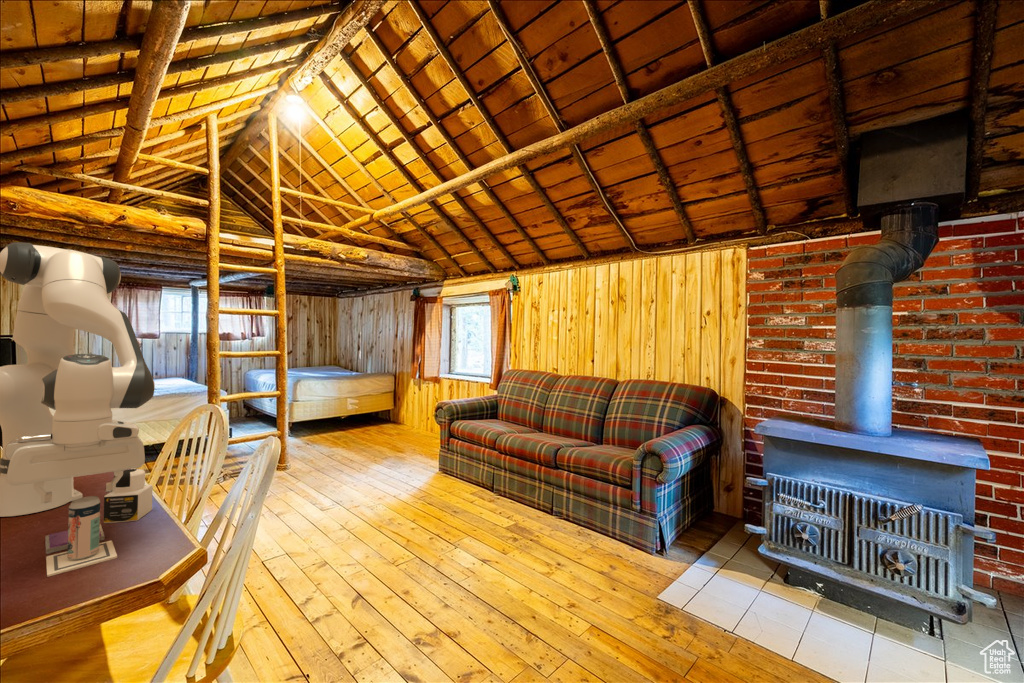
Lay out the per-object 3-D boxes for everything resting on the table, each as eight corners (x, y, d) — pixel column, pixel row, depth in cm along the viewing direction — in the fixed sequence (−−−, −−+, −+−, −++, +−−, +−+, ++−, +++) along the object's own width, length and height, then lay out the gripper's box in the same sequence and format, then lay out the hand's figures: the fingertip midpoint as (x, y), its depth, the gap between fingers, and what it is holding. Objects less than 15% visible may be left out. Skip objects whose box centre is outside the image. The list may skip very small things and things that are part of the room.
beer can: (69, 554, 89) (70, 498, 89) (100, 548, 92) (101, 493, 92) (65, 564, 85) (66, 505, 85) (98, 556, 88) (99, 500, 88)
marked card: (46, 558, 88) (46, 556, 88) (111, 542, 96) (111, 539, 96) (47, 576, 81) (47, 574, 81) (117, 557, 89) (117, 555, 89)
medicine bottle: (102, 524, 104) (103, 476, 104) (120, 512, 111) (121, 467, 111) (137, 521, 106) (138, 474, 106) (152, 510, 113) (153, 466, 113)
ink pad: (45, 540, 96) (45, 534, 96) (100, 527, 102) (100, 522, 102) (46, 554, 90) (46, 548, 90) (104, 539, 96) (104, 534, 96)
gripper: (4, 441, 78) (1, 514, 78) (147, 428, 94) (144, 489, 94) (6, 435, 83) (3, 504, 83) (143, 423, 98) (140, 482, 98)
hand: (79, 496), depth 88 cm, fingers open, 8 cm apart
